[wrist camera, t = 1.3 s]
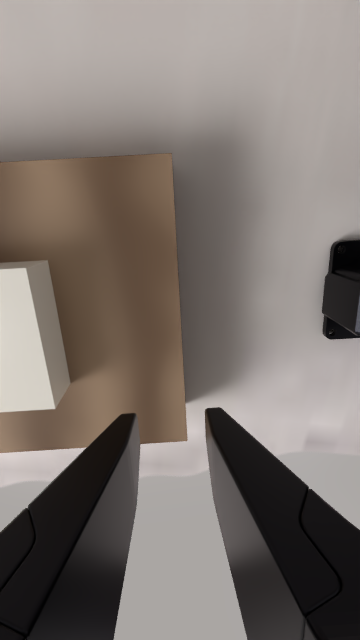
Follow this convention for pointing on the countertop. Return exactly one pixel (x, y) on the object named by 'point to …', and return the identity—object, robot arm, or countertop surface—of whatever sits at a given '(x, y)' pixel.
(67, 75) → the countertop surface
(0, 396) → the tile
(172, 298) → the brown flat block
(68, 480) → the robot arm
